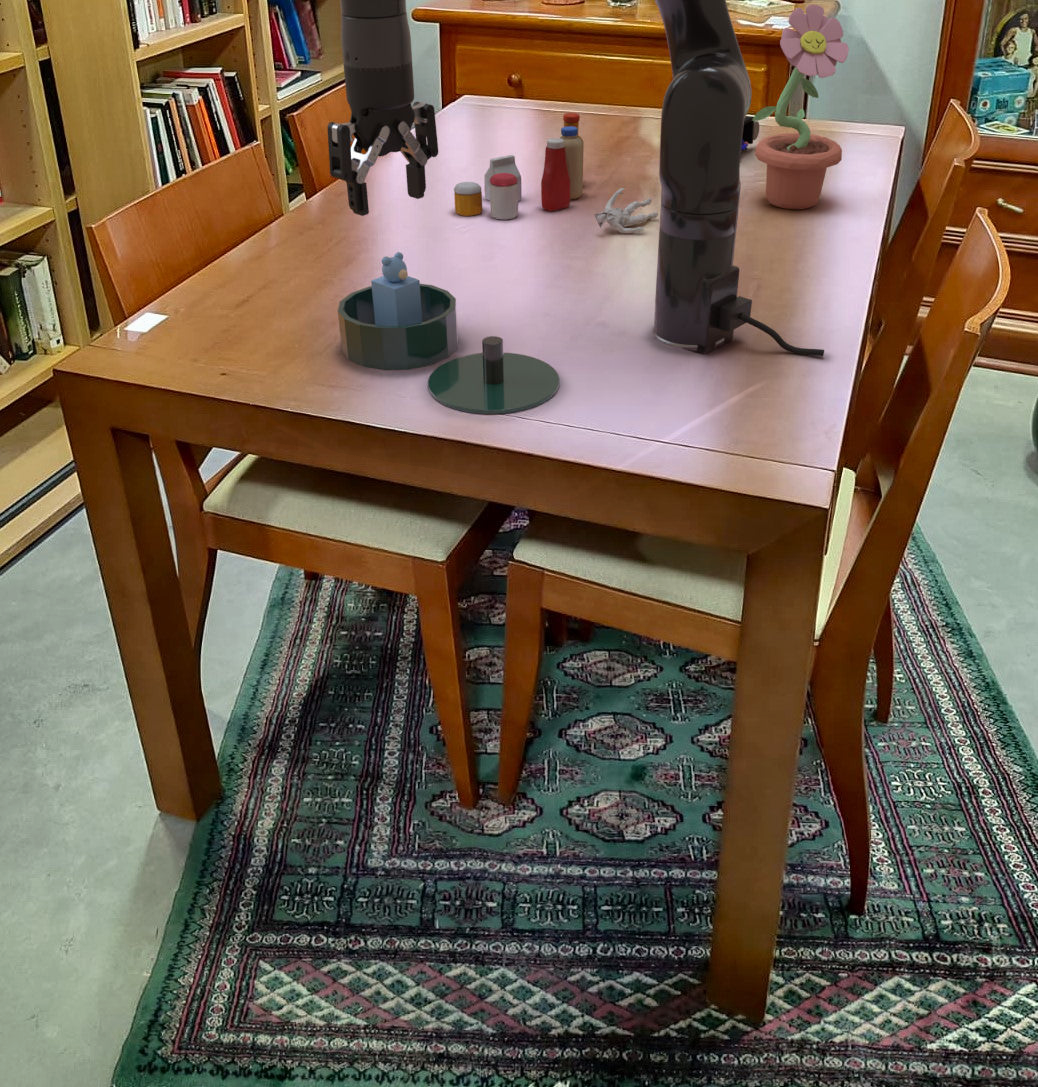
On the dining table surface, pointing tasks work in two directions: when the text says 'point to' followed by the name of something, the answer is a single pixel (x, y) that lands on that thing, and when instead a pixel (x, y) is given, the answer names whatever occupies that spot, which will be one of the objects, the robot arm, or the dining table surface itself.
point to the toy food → (505, 179)
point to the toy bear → (396, 294)
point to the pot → (398, 332)
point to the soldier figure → (623, 215)
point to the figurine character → (749, 132)
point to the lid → (493, 381)
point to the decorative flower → (802, 113)
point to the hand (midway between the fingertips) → (389, 205)
